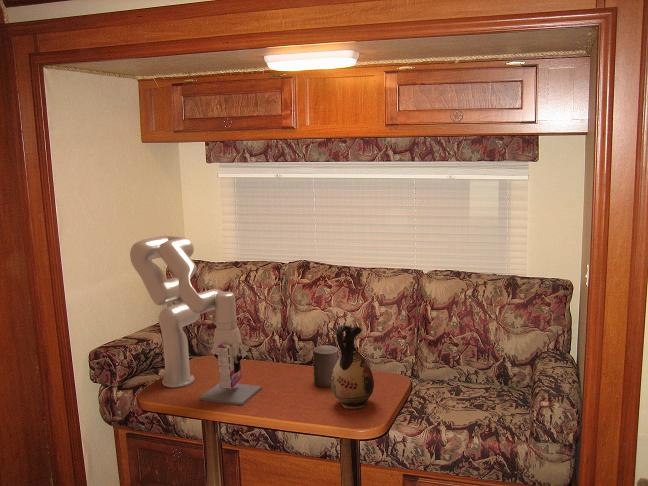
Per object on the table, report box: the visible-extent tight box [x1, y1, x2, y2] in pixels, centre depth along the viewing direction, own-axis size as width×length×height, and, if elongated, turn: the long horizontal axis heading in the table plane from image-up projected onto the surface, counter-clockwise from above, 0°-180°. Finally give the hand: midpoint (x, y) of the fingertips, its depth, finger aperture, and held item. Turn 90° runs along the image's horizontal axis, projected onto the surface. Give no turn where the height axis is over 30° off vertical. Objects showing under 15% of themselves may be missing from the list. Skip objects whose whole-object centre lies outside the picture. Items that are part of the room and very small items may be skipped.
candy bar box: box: [217, 344, 242, 389], centre depth 231 cm, size 11×5×16 cm, turn 168°
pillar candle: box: [312, 345, 339, 388], centre depth 240 cm, size 10×10×15 cm
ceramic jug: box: [330, 324, 375, 409], centre depth 218 cm, size 17×15×30 cm
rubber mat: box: [198, 382, 263, 406], centre depth 233 cm, size 18×16×1 cm
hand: (230, 370), depth 232 cm, fingers closed on candy bar box, 5 cm apart
